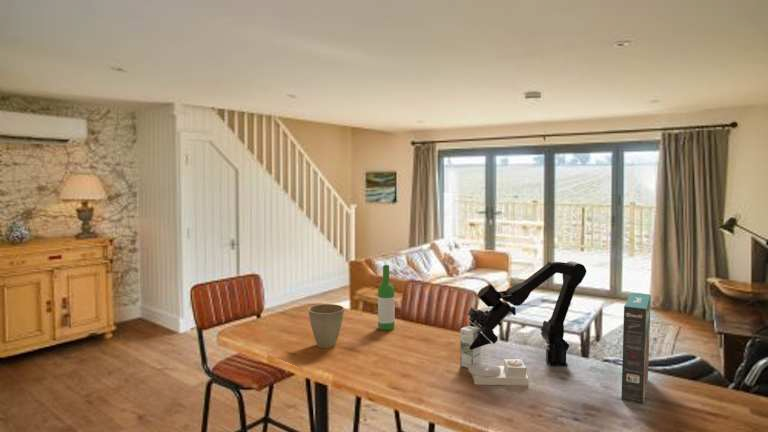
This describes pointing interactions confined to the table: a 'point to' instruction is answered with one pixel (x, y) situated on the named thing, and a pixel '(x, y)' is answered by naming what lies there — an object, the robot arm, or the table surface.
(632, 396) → the cake mix box
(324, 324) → the plant pot
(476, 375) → the scale
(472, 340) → the syrup box
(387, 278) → the wine bottle
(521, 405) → the table surface
